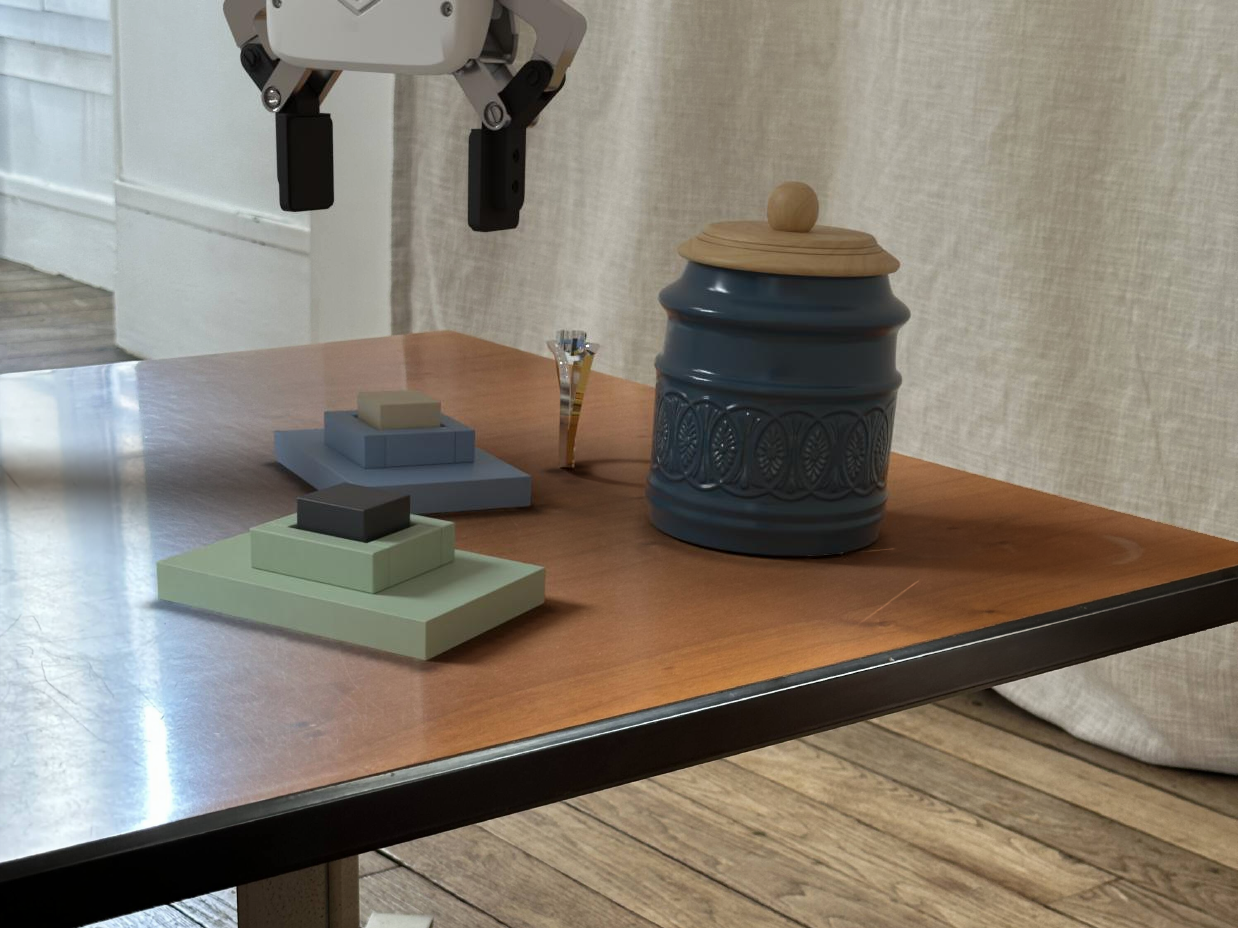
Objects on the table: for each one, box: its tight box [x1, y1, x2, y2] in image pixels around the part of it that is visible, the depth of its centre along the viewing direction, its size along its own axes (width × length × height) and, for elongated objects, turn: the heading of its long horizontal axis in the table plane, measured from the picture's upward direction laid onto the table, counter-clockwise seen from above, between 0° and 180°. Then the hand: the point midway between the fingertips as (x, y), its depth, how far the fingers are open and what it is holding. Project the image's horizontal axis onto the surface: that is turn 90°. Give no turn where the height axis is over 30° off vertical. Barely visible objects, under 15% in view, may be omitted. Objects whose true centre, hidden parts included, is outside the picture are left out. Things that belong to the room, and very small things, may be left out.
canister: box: [644, 180, 912, 557], centre depth 91 cm, size 13×13×18 cm
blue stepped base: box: [273, 409, 533, 516], centre depth 99 cm, size 14×10×4 cm
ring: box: [545, 329, 601, 470], centre depth 104 cm, size 7×3×8 cm, turn 177°
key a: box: [296, 482, 410, 543], centre depth 77 cm, size 4×4×2 cm
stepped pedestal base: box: [155, 512, 547, 662], centre depth 78 cm, size 14×10×4 cm
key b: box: [356, 389, 442, 430], centre depth 98 cm, size 4×4×2 cm
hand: (398, 219), depth 76 cm, fingers open, 9 cm apart
